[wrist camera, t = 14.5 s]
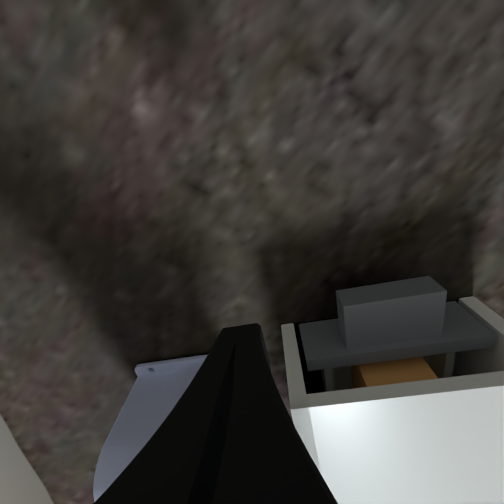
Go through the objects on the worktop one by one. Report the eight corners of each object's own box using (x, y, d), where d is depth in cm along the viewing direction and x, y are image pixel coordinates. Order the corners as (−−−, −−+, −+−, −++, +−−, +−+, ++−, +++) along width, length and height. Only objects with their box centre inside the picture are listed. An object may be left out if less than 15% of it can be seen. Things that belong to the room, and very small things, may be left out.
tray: (314, 417, 25) (323, 459, 22) (292, 286, 19) (299, 318, 16) (441, 403, 24) (470, 446, 20) (460, 259, 18) (506, 287, 14)
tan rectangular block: (353, 395, 23) (374, 452, 19) (349, 344, 20) (371, 397, 16) (405, 389, 22) (438, 446, 18) (407, 336, 20) (445, 388, 16)
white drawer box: (301, 422, 26) (315, 517, 19) (280, 324, 21) (290, 409, 14) (455, 406, 24) (525, 503, 18) (473, 296, 19) (580, 376, 13)
